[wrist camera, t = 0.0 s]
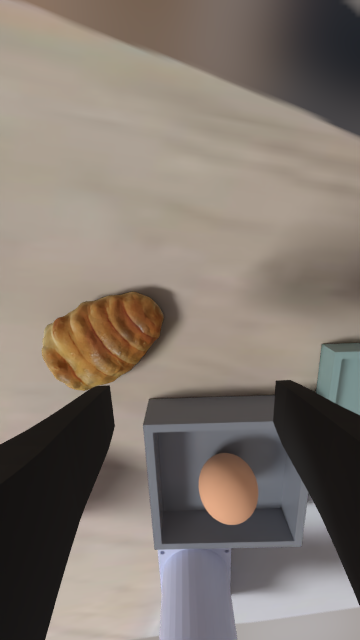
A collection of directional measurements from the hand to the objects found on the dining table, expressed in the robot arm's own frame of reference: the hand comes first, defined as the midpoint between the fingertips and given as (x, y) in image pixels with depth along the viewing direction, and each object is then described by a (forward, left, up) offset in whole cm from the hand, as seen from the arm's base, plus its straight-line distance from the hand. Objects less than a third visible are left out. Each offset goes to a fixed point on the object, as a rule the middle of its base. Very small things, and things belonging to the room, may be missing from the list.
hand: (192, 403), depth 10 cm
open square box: (-13, -3, -10) cm, 17 cm away
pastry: (0, +7, -11) cm, 13 cm away
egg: (-13, -3, -10) cm, 16 cm away
